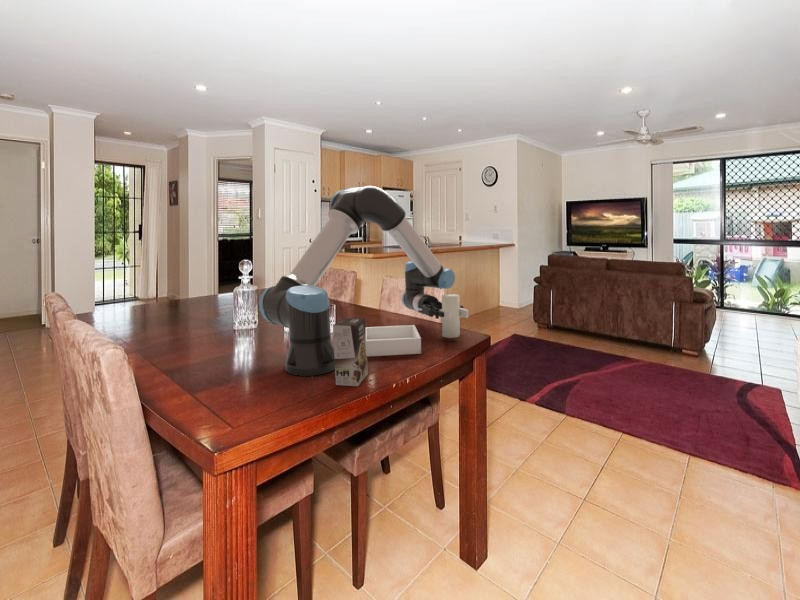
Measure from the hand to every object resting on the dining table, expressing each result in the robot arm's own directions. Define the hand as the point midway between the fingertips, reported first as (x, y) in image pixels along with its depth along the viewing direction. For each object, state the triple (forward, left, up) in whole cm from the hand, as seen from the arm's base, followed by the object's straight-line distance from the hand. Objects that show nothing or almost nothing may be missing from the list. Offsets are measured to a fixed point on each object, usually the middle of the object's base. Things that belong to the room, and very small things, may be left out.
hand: (458, 315), depth 144 cm
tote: (-23, +1, -10) cm, 25 cm away
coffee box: (-35, -28, -10) cm, 46 cm away
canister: (-2, +5, -8) cm, 9 cm away
